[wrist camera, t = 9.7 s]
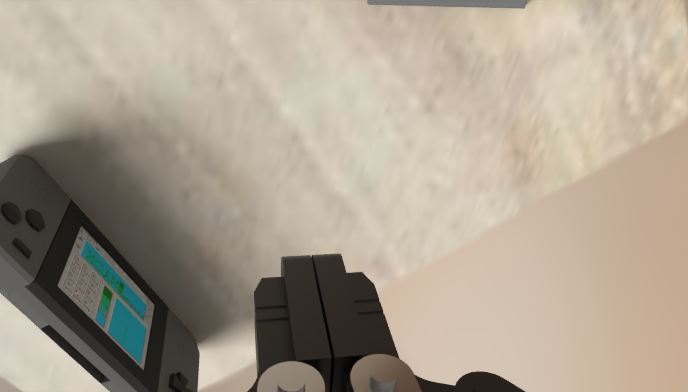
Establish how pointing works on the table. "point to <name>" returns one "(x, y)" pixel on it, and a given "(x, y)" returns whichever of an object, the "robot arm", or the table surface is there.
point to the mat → (454, 3)
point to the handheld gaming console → (86, 289)
